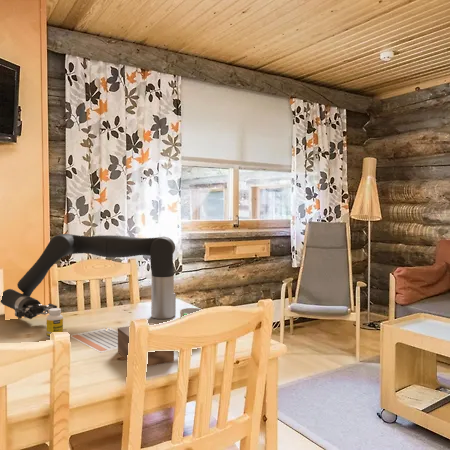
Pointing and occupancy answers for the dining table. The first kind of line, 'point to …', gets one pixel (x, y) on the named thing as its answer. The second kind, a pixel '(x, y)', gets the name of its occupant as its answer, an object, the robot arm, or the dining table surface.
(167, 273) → the robot arm
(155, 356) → the walnut box
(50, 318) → the supplement bottle
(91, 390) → the dining table surface
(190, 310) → the cup
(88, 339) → the letter
